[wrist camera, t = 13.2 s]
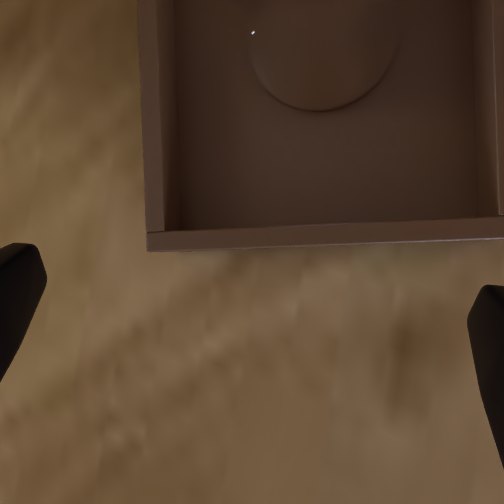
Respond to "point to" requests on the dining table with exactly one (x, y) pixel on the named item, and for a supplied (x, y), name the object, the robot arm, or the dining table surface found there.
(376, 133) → the tray
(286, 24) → the beer glass
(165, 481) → the dining table surface
